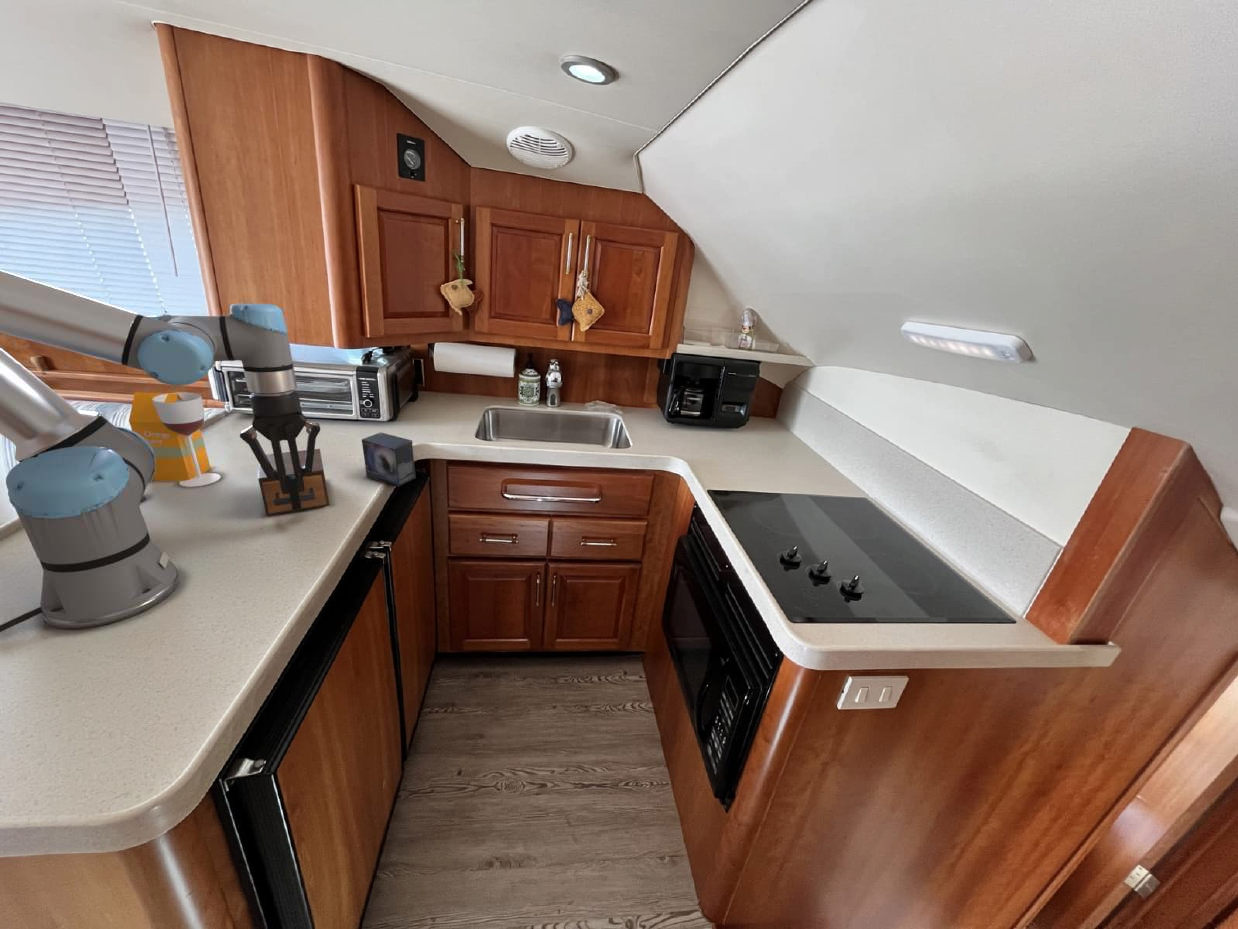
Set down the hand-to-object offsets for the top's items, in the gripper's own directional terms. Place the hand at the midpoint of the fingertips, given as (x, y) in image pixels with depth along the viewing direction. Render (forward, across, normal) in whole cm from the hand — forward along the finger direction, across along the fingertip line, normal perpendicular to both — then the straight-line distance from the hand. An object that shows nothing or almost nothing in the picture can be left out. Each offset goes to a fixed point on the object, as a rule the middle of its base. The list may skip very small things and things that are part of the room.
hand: (296, 506), depth 99 cm
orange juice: (+3, +24, -37) cm, 44 cm away
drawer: (+3, 0, -10) cm, 11 cm away
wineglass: (+4, +19, -32) cm, 38 cm away
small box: (+4, -20, -18) cm, 27 cm away
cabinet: (+4, 0, -14) cm, 15 cm away
